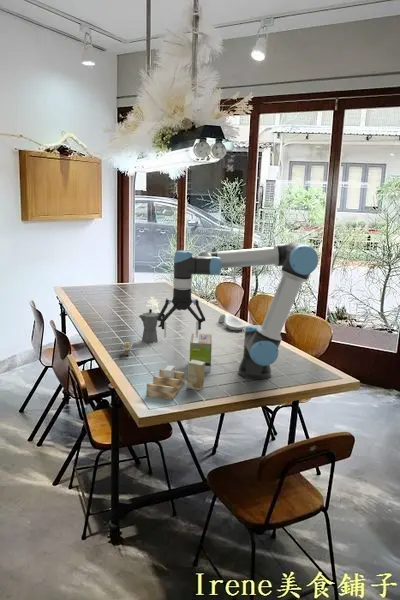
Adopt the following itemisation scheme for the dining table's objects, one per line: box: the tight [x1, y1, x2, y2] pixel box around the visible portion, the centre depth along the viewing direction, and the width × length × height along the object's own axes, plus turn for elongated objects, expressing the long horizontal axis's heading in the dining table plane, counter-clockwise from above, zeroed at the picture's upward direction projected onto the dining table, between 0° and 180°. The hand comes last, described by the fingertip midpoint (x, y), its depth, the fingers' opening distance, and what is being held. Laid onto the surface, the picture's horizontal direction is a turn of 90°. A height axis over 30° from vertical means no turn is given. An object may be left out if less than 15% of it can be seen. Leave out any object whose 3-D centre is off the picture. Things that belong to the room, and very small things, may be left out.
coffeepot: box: [138, 309, 166, 344], centre depth 259 cm, size 15×9×18 cm, turn 118°
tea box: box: [189, 333, 213, 374], centre depth 223 cm, size 15×10×15 cm, turn 178°
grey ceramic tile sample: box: [163, 364, 176, 379], centre depth 198 cm, size 3×6×8 cm, turn 167°
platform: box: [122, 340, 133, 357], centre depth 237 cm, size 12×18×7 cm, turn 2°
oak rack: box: [146, 369, 186, 401], centre depth 194 cm, size 11×17×6 cm, turn 167°
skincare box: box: [186, 360, 206, 391], centre depth 198 cm, size 6×4×12 cm
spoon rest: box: [218, 313, 246, 332], centre depth 296 cm, size 24×12×7 cm, turn 28°
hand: (180, 336), depth 200 cm, fingers open, 13 cm apart
